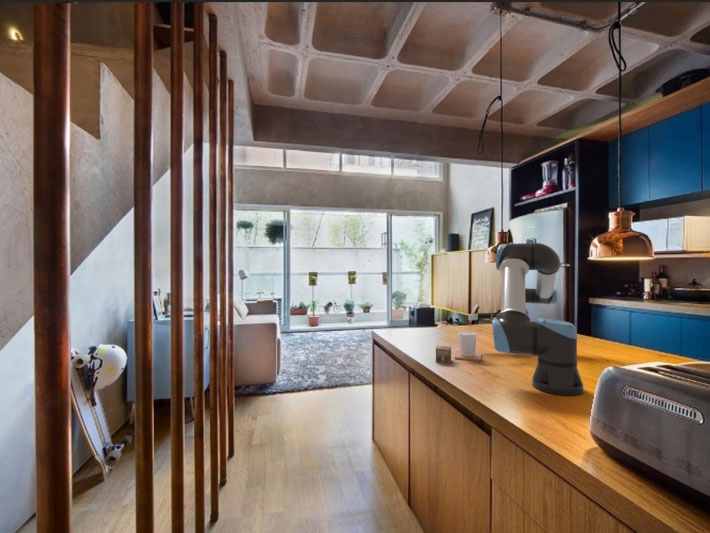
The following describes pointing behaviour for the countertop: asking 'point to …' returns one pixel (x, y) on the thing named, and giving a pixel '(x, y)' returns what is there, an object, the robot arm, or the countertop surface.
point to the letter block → (443, 354)
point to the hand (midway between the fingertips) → (481, 319)
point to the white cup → (467, 343)
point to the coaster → (474, 358)
